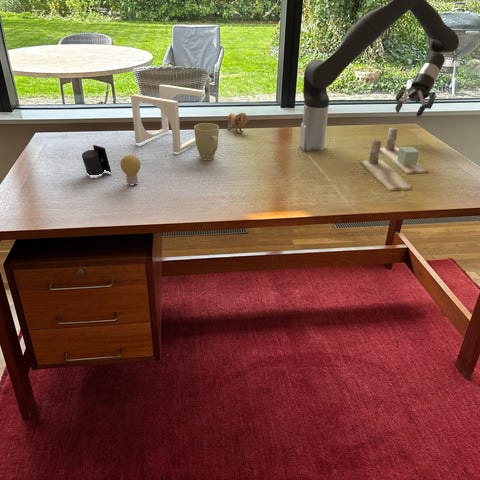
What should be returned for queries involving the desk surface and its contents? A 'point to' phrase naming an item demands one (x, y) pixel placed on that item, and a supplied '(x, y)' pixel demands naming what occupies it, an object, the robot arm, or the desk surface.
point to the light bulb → (131, 168)
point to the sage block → (408, 156)
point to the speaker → (96, 160)
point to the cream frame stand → (163, 114)
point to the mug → (206, 139)
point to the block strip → (393, 152)
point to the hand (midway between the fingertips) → (407, 113)
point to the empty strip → (384, 170)
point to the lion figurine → (237, 121)
